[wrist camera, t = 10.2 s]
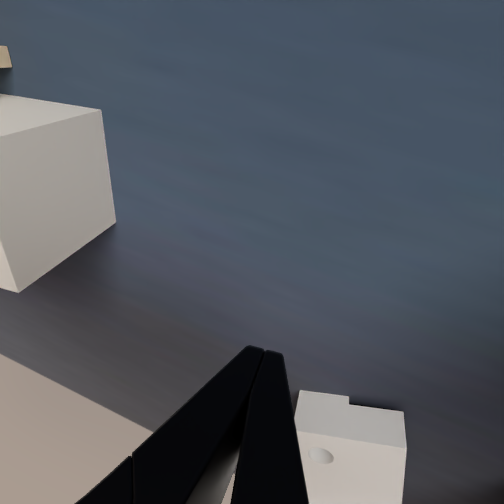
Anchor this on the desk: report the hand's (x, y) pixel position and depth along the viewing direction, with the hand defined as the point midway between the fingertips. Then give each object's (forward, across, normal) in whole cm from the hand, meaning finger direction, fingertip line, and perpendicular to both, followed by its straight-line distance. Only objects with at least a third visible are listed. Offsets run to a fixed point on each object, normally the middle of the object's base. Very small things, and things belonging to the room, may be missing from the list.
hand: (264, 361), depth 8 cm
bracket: (+12, -6, +22) cm, 26 cm away
